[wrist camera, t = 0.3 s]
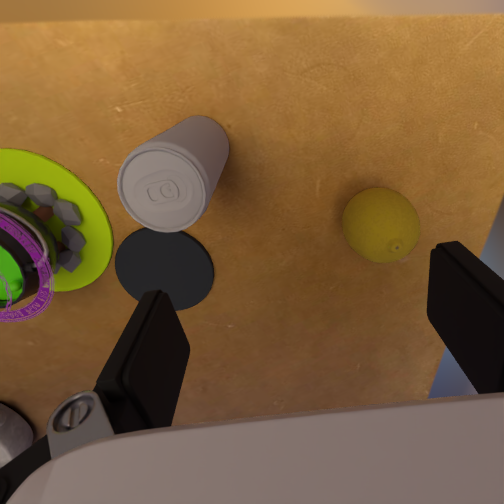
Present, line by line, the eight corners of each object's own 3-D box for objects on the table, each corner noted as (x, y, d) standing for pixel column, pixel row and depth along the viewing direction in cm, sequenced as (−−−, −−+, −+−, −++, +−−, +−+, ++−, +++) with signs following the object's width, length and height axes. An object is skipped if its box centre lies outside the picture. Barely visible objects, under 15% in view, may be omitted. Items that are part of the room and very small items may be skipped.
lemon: (390, 232, 30) (429, 280, 23) (331, 234, 30) (352, 282, 23) (401, 174, 27) (448, 209, 20) (335, 177, 28) (360, 212, 21)
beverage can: (236, 167, 27) (220, 224, 17) (184, 179, 28) (137, 243, 18) (220, 107, 25) (190, 132, 15) (164, 123, 26) (97, 157, 15)
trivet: (98, 270, 33) (96, 273, 33) (153, 205, 29) (151, 207, 29) (175, 321, 36) (174, 325, 36) (233, 269, 33) (233, 272, 32)
